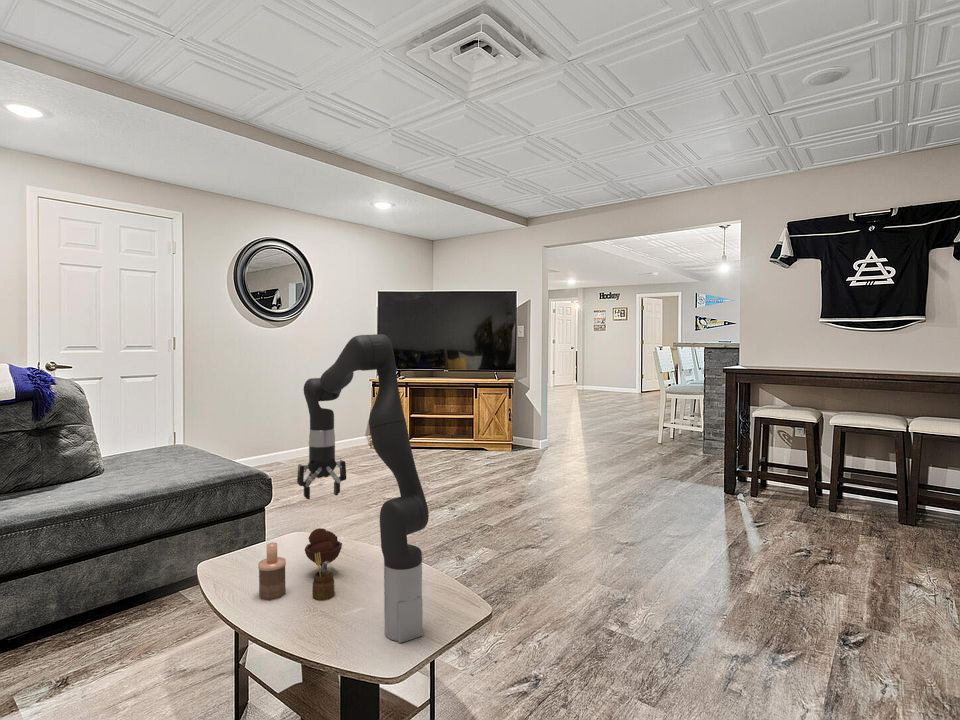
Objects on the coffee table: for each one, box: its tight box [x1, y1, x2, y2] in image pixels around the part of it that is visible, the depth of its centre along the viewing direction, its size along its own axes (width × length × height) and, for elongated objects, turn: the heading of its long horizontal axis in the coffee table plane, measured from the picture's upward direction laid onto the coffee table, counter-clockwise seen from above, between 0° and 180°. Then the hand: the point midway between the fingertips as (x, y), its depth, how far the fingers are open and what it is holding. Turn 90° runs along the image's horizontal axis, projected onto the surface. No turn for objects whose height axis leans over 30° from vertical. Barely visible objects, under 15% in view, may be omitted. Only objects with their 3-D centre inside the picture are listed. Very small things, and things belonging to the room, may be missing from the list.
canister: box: [258, 565, 286, 601], centre depth 150 cm, size 6×6×9 cm
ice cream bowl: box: [304, 527, 343, 571], centre depth 163 cm, size 11×11×15 cm
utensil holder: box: [311, 552, 336, 602], centre depth 149 cm, size 6×6×12 cm
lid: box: [257, 542, 287, 571], centre depth 150 cm, size 7×7×6 cm
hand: (322, 496), depth 163 cm, fingers open, 8 cm apart
